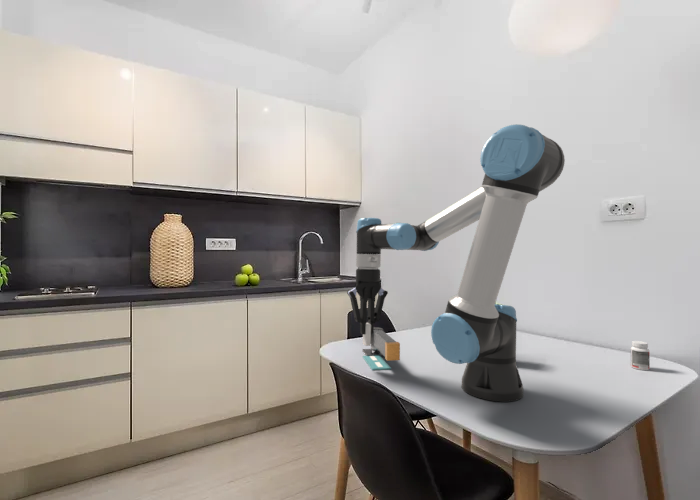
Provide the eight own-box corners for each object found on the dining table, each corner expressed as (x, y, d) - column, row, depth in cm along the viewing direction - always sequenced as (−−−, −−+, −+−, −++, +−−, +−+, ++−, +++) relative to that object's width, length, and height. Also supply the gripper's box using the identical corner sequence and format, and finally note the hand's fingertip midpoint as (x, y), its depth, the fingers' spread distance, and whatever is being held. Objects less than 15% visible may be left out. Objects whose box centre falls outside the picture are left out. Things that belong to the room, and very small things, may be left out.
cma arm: (401, 360, 108) (401, 343, 108) (385, 360, 107) (385, 343, 107) (380, 340, 132) (381, 327, 132) (367, 341, 131) (367, 327, 131)
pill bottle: (653, 371, 113) (653, 344, 113) (635, 370, 114) (636, 343, 114) (644, 366, 118) (644, 340, 118) (627, 365, 119) (627, 340, 119)
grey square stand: (389, 356, 125) (389, 345, 126) (367, 357, 124) (367, 346, 124) (383, 350, 133) (383, 340, 133) (362, 351, 132) (362, 340, 132)
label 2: (390, 369, 112) (391, 367, 112) (372, 370, 111) (372, 368, 111) (384, 362, 118) (384, 360, 118) (367, 363, 117) (367, 361, 117)
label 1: (384, 362, 118) (384, 360, 118) (367, 363, 117) (367, 361, 117) (379, 356, 125) (379, 354, 125) (362, 357, 124) (362, 355, 124)
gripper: (352, 268, 105) (350, 349, 105) (392, 269, 110) (390, 346, 110) (344, 267, 112) (342, 342, 112) (382, 267, 117) (380, 340, 117)
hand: (366, 344), depth 111 cm, fingers closed
